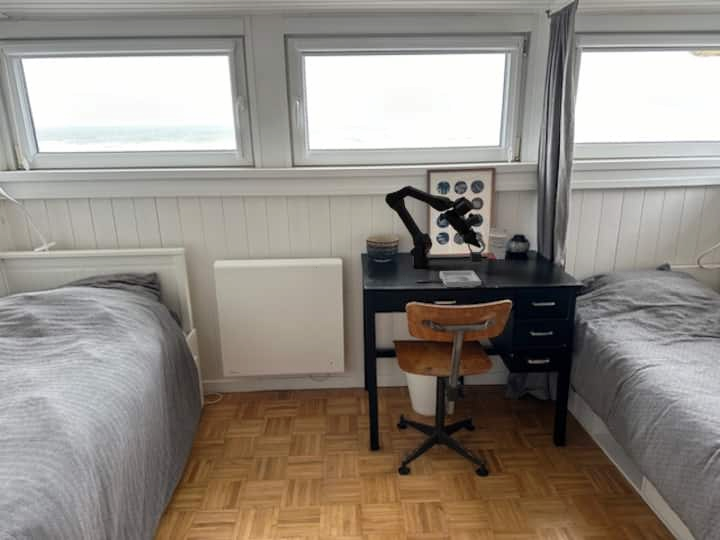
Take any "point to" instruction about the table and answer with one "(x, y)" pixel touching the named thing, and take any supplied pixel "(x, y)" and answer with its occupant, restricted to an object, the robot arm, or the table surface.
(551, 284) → the table surface
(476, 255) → the watch
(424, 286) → the table surface
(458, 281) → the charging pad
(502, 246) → the ink cartridge box
